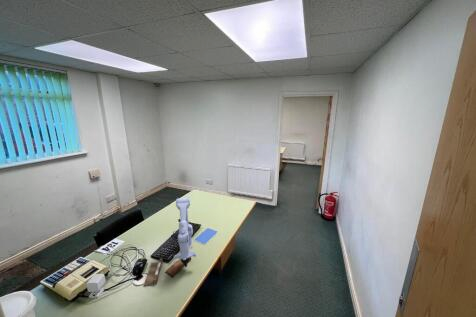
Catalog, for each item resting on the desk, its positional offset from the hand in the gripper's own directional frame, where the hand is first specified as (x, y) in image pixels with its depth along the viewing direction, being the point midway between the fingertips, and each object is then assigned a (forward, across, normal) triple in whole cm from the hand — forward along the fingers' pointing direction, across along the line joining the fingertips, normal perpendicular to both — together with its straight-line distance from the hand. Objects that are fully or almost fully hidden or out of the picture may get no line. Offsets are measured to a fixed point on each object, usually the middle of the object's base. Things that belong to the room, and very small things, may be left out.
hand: (186, 266), depth 127 cm
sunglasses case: (+3, -6, +3) cm, 7 cm away
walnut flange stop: (+2, -21, 0) cm, 21 cm away
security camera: (+2, -51, -8) cm, 52 cm away
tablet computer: (+3, +14, +33) cm, 36 cm away
